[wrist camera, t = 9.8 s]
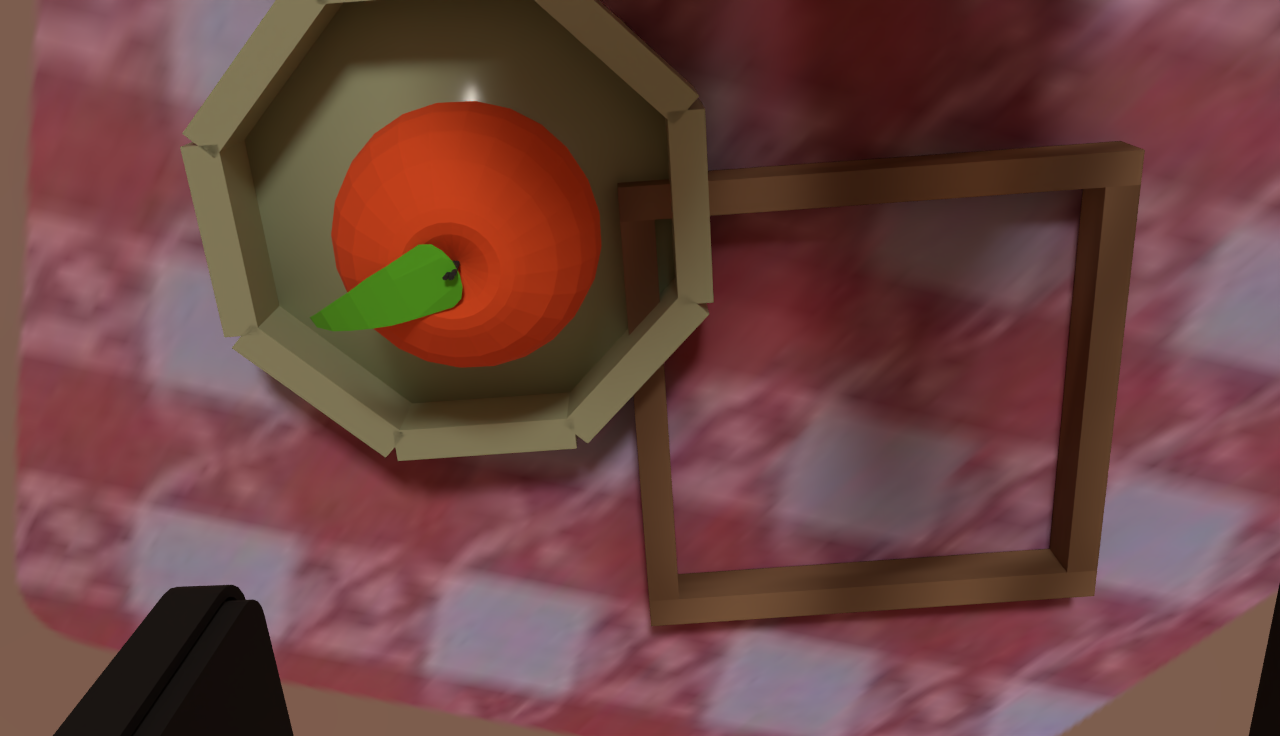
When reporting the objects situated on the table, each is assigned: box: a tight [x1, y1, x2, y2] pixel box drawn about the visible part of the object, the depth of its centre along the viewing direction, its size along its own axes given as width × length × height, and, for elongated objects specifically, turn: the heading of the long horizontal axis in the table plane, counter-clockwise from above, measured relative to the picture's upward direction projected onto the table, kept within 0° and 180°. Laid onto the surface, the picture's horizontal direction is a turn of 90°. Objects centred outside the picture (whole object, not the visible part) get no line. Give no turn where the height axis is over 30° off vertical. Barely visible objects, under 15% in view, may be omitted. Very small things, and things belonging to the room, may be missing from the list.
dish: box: [180, 0, 713, 461], centre depth 30 cm, size 14×14×3 cm
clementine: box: [309, 101, 602, 368], centre depth 27 cm, size 8×7×7 cm
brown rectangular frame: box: [617, 141, 1145, 626], centre depth 33 cm, size 15×15×2 cm
